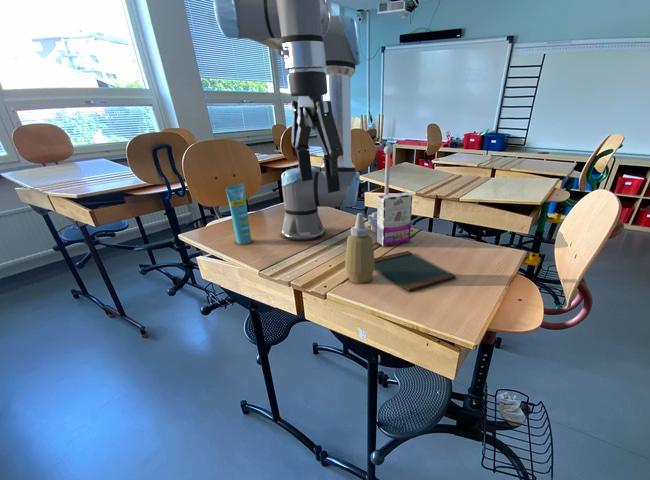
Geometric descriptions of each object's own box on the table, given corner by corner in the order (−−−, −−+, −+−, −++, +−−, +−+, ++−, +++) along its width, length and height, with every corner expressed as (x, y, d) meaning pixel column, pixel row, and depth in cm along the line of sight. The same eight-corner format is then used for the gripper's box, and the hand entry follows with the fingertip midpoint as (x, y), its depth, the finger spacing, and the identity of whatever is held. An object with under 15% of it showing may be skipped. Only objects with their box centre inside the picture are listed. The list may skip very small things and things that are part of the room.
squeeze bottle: (358, 270, 98) (358, 208, 89) (380, 278, 93) (382, 213, 84) (339, 279, 92) (336, 214, 83) (361, 288, 88) (361, 220, 79)
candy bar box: (402, 238, 123) (405, 191, 115) (410, 242, 119) (413, 194, 111) (375, 242, 119) (376, 194, 111) (383, 247, 115) (384, 198, 107)
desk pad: (365, 263, 103) (365, 260, 102) (407, 253, 110) (407, 250, 109) (409, 292, 86) (409, 289, 86) (455, 278, 93) (455, 275, 93)
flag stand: (363, 226, 135) (364, 144, 121) (393, 223, 140) (397, 143, 125) (375, 236, 125) (377, 147, 110) (407, 232, 129) (413, 146, 114)
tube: (242, 246, 114) (232, 187, 105) (231, 244, 116) (220, 186, 106) (257, 239, 120) (248, 183, 111) (246, 237, 122) (236, 182, 112)
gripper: (266, 75, 72) (283, 178, 83) (316, 67, 54) (329, 200, 65) (299, 74, 75) (311, 174, 86) (356, 66, 57) (362, 193, 68)
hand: (319, 185), depth 76 cm, fingers open, 13 cm apart
